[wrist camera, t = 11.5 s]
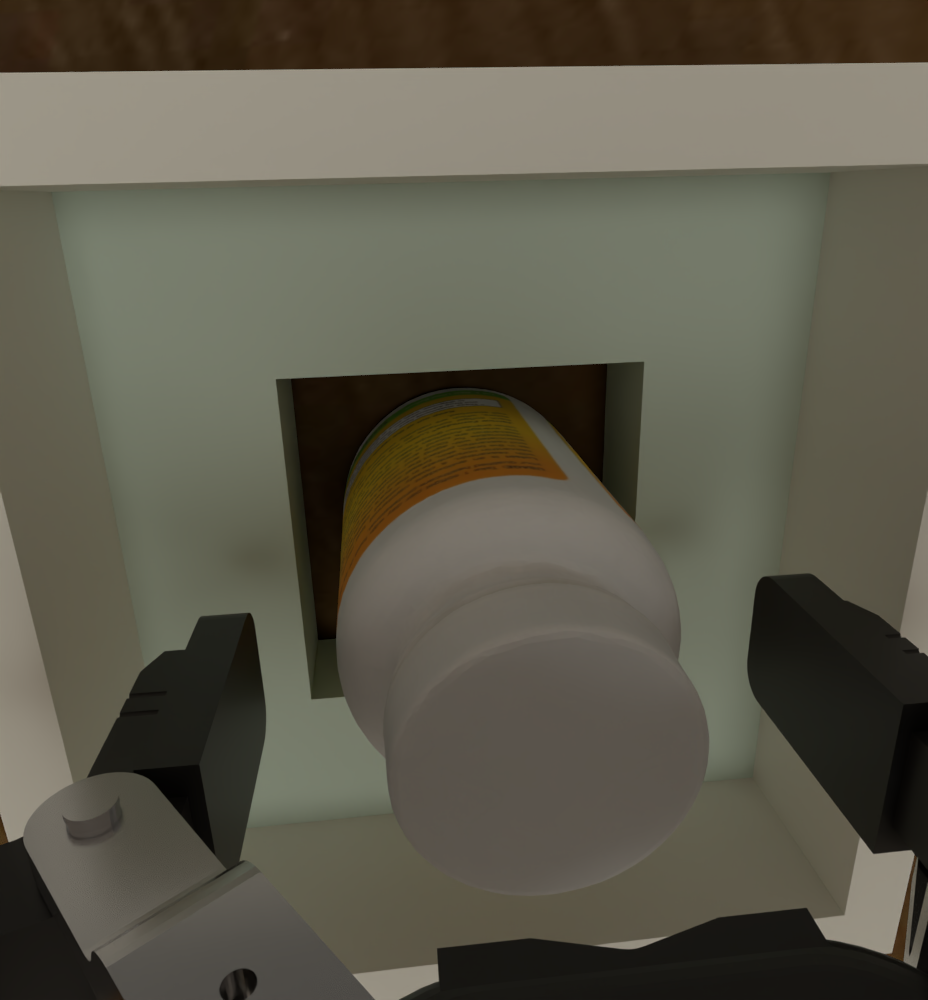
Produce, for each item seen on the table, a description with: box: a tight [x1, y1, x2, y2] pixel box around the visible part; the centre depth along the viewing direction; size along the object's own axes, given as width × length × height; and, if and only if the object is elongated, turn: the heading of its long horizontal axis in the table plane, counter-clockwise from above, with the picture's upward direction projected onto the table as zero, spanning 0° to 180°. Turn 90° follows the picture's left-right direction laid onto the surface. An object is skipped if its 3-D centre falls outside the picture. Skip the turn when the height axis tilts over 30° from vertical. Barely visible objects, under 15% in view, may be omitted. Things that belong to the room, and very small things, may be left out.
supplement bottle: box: [336, 388, 709, 896], centre depth 14 cm, size 5×5×10 cm
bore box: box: [0, 63, 928, 1000], centre depth 15 cm, size 16×16×6 cm
